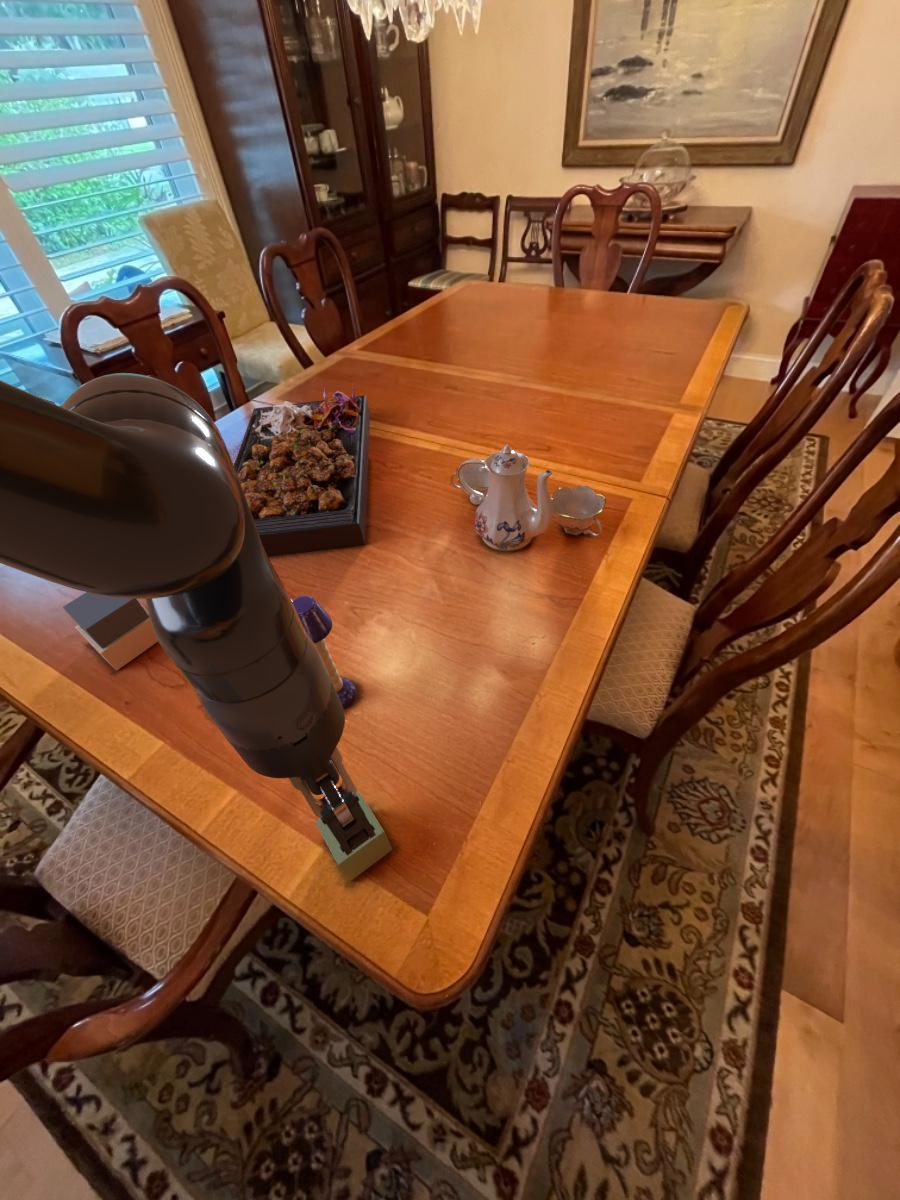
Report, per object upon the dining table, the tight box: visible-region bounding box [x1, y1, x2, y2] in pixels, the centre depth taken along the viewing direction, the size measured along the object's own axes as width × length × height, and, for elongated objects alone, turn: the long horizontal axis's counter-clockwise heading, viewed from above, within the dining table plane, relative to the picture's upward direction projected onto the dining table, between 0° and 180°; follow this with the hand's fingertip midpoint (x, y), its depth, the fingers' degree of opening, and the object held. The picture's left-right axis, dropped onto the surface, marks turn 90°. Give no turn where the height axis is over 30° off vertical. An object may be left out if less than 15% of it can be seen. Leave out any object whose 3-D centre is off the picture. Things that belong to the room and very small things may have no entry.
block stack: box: [62, 592, 159, 671], centre depth 75 cm, size 8×8×8 cm
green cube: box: [314, 791, 393, 882], centre depth 53 cm, size 5×5×5 cm
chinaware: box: [450, 444, 607, 553], centre depth 83 cm, size 28×17×17 cm, turn 62°
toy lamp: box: [292, 595, 357, 709], centre depth 62 cm, size 5×5×17 cm
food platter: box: [233, 382, 371, 557], centre depth 100 cm, size 45×25×10 cm, turn 5°
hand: (333, 797), depth 47 cm, fingers open, 8 cm apart
